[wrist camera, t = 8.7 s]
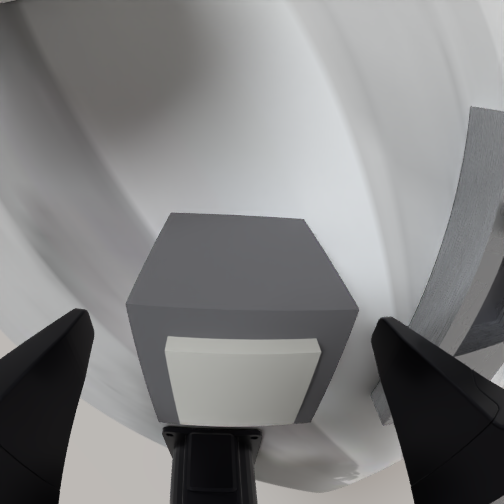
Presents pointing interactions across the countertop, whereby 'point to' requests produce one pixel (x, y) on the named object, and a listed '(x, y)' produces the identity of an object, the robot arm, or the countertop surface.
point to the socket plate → (469, 262)
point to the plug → (238, 321)
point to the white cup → (4, 0)
